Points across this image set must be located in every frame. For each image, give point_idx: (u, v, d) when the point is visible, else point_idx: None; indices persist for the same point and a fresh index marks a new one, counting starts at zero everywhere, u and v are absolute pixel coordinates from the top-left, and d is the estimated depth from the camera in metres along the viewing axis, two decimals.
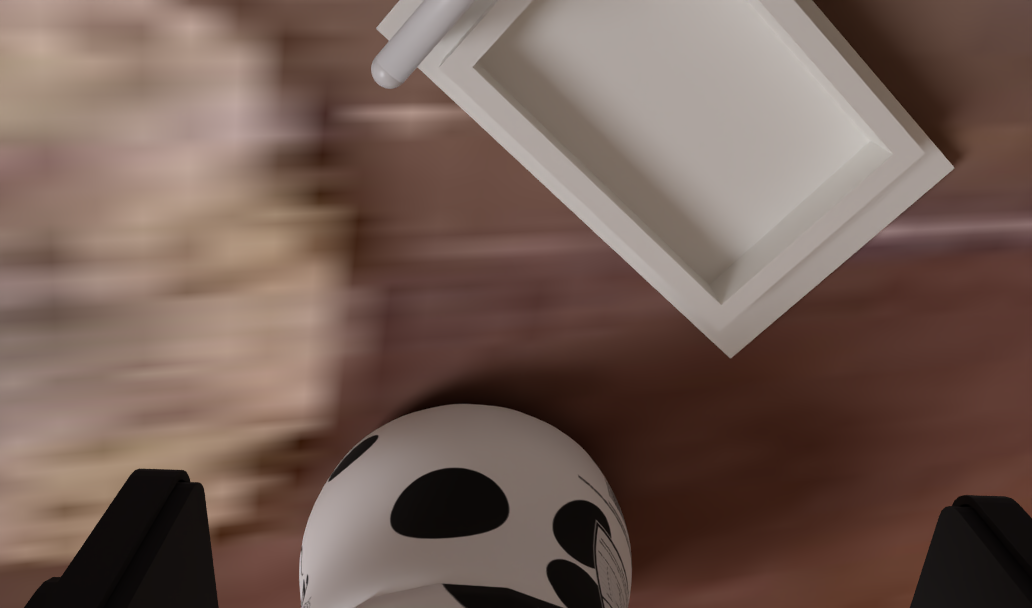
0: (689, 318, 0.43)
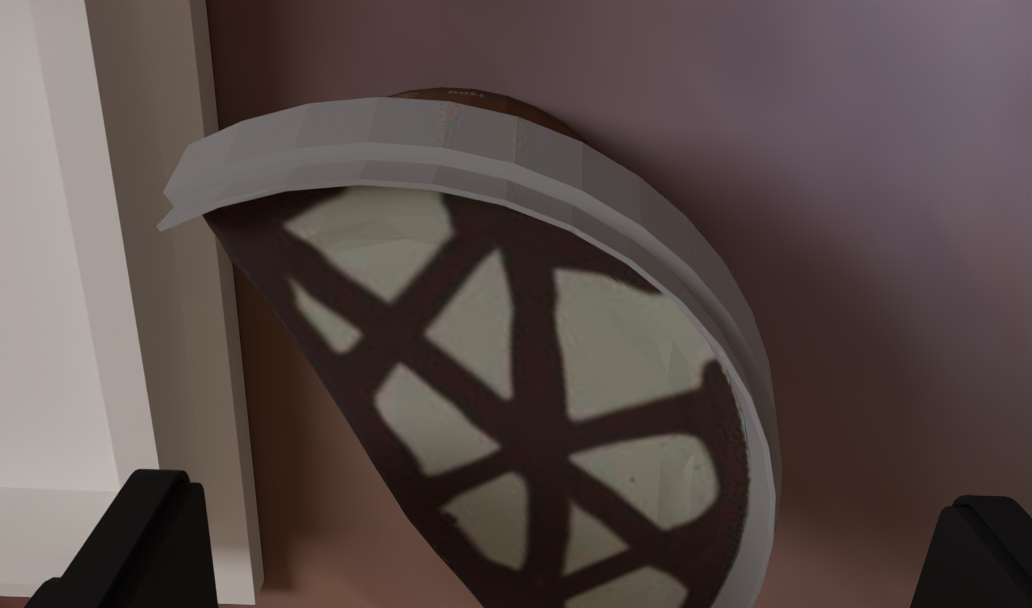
0: None
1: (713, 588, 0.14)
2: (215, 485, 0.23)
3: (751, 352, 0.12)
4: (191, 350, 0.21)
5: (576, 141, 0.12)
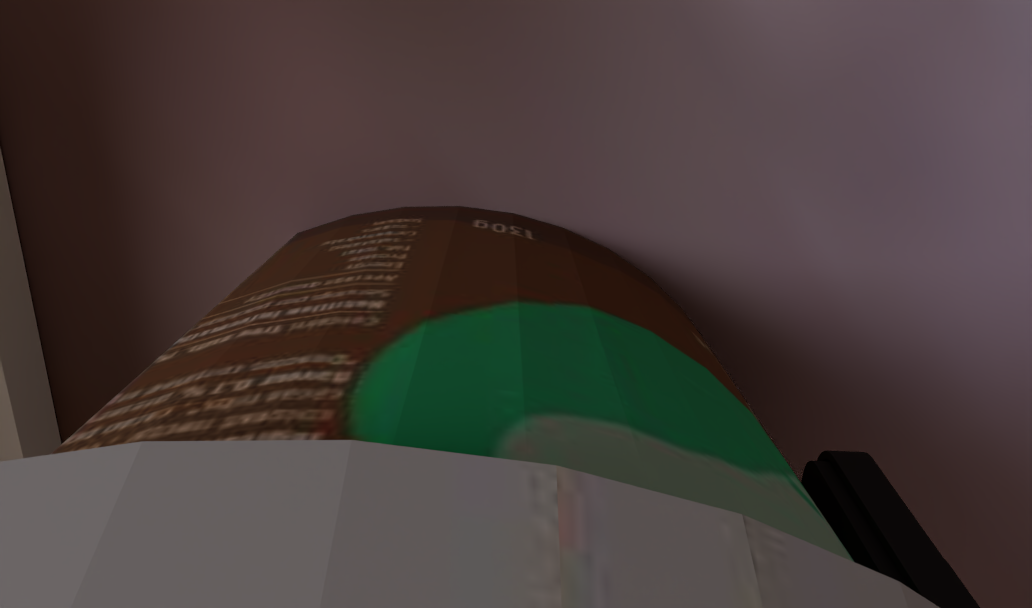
0: None
1: None
2: None
3: None
4: None
5: (887, 583, 0.04)
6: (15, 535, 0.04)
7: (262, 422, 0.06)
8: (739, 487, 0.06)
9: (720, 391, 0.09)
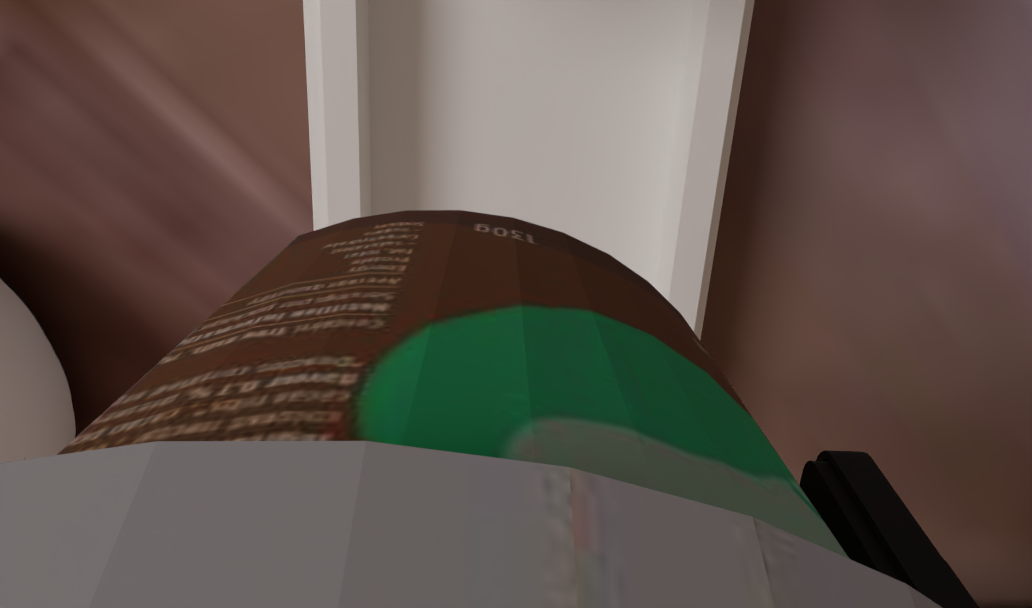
0: None
1: None
2: None
3: None
4: None
5: (895, 585, 0.04)
6: (31, 534, 0.04)
7: (270, 423, 0.06)
8: (743, 491, 0.06)
9: (721, 396, 0.09)
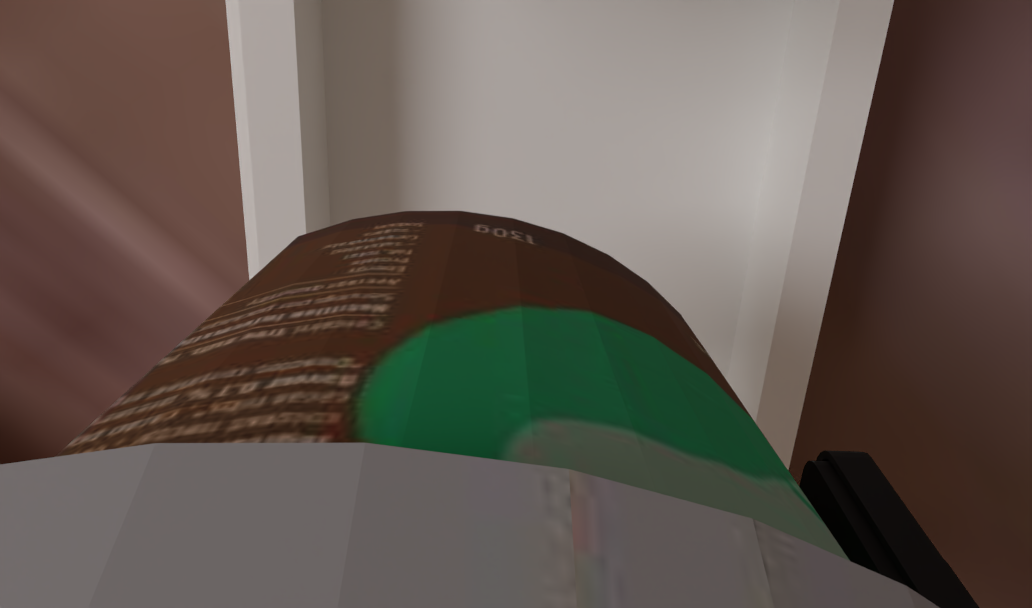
0: None
1: None
2: None
3: None
4: None
5: (896, 587, 0.04)
6: (30, 536, 0.04)
7: (269, 425, 0.06)
8: (743, 492, 0.06)
9: (721, 397, 0.09)
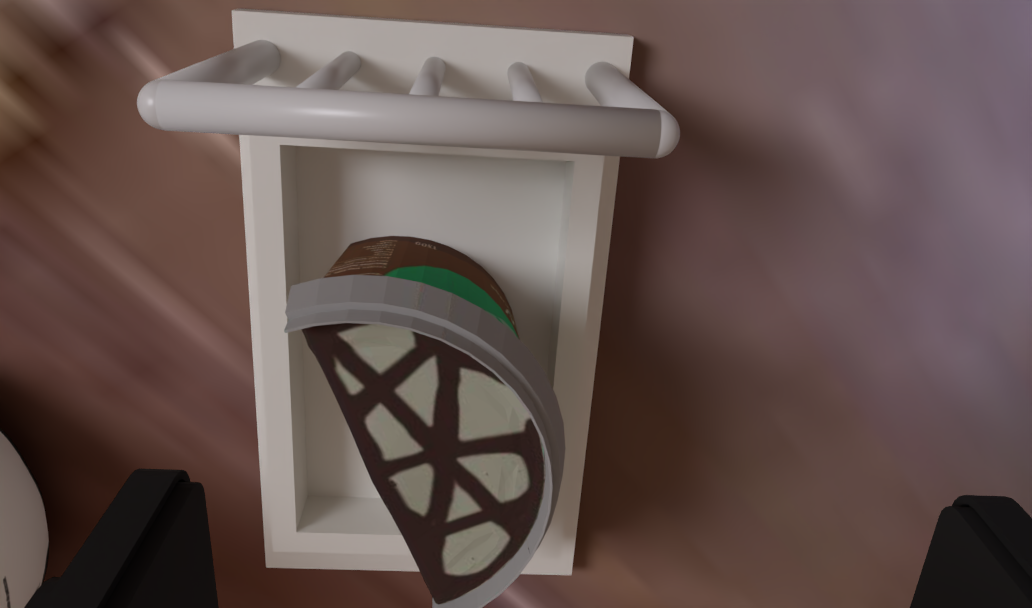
0: (264, 507, 0.37)
1: (522, 536, 0.26)
2: None
3: (548, 417, 0.25)
4: None
5: (478, 307, 0.25)
6: (338, 285, 0.24)
7: None
8: None
9: (485, 296, 0.29)
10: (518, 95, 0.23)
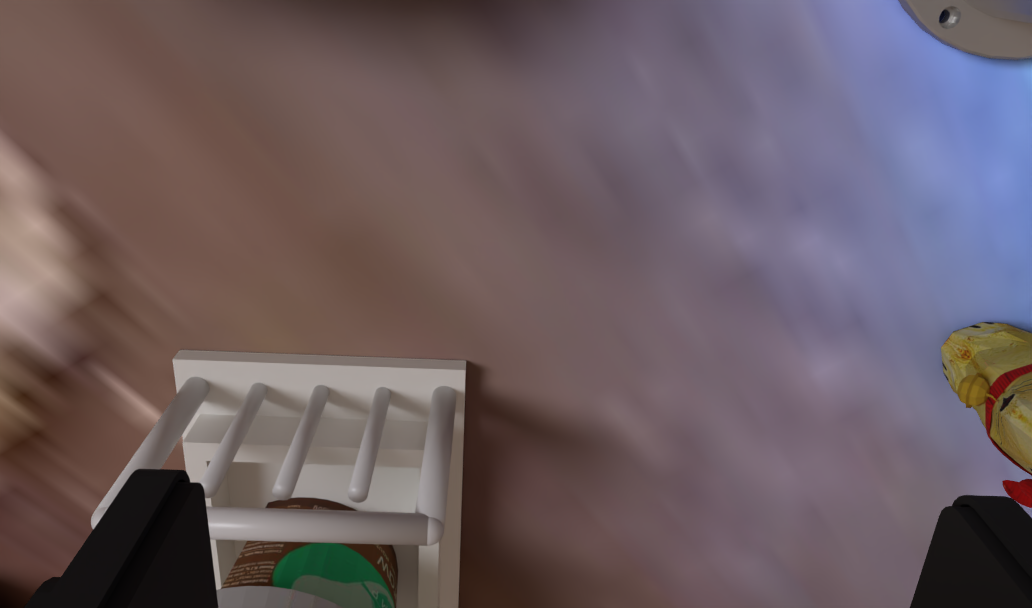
0: None
1: None
2: None
3: None
4: None
5: (334, 604, 0.36)
6: (235, 596, 0.35)
7: (259, 577, 0.37)
8: (338, 587, 0.38)
9: (357, 561, 0.40)
10: (354, 470, 0.35)
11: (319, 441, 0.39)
